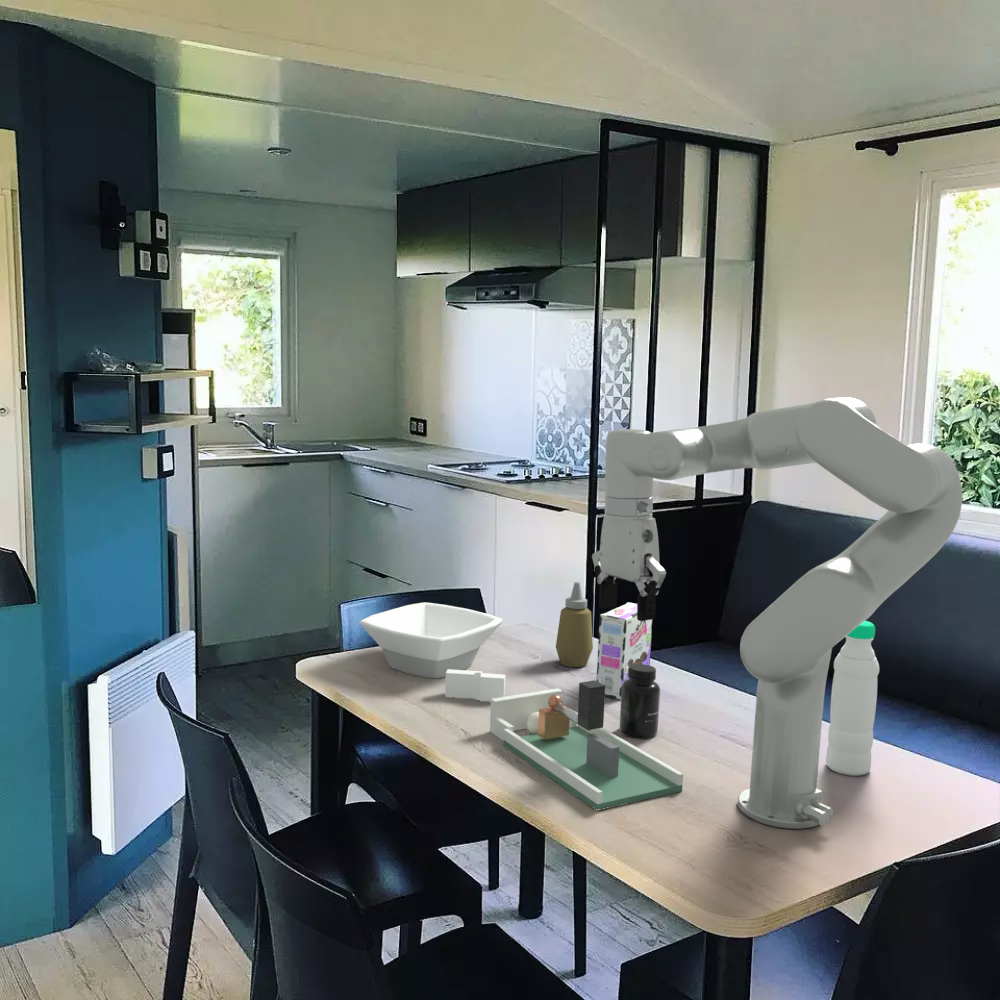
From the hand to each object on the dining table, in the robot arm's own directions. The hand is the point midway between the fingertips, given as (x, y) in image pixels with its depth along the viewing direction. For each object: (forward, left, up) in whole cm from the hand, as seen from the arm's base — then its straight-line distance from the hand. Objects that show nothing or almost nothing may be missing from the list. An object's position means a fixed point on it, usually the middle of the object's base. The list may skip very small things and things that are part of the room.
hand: (626, 613), depth 164 cm
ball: (+18, +5, -24) cm, 30 cm away
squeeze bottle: (+50, -24, -26) cm, 61 cm away
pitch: (+5, +5, -26) cm, 27 cm away
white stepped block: (+38, +6, -26) cm, 47 cm away
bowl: (+61, +5, -26) cm, 66 cm away
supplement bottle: (+11, -12, -26) cm, 31 cm away
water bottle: (-17, -34, -26) cm, 46 cm away
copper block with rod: (+7, +5, -24) cm, 25 cm away
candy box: (+32, -24, -26) cm, 48 cm away
